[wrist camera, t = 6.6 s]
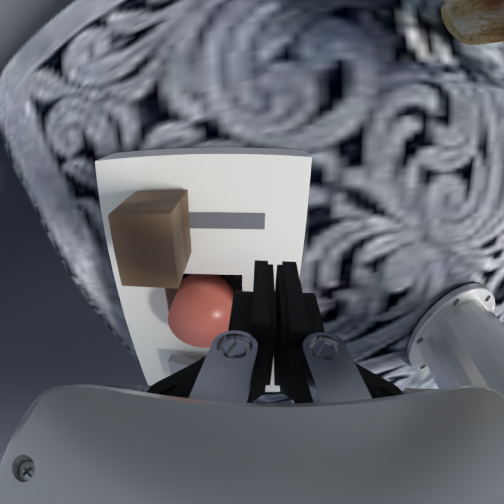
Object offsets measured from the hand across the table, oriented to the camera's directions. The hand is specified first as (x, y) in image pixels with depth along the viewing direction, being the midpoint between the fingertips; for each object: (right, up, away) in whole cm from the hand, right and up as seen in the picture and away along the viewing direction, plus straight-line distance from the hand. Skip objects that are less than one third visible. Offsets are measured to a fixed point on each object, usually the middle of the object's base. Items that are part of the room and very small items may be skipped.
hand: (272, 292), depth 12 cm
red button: (-4, -2, +8) cm, 10 cm away
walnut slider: (-6, +4, +5) cm, 9 cm away
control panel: (-4, -1, +11) cm, 12 cm away
